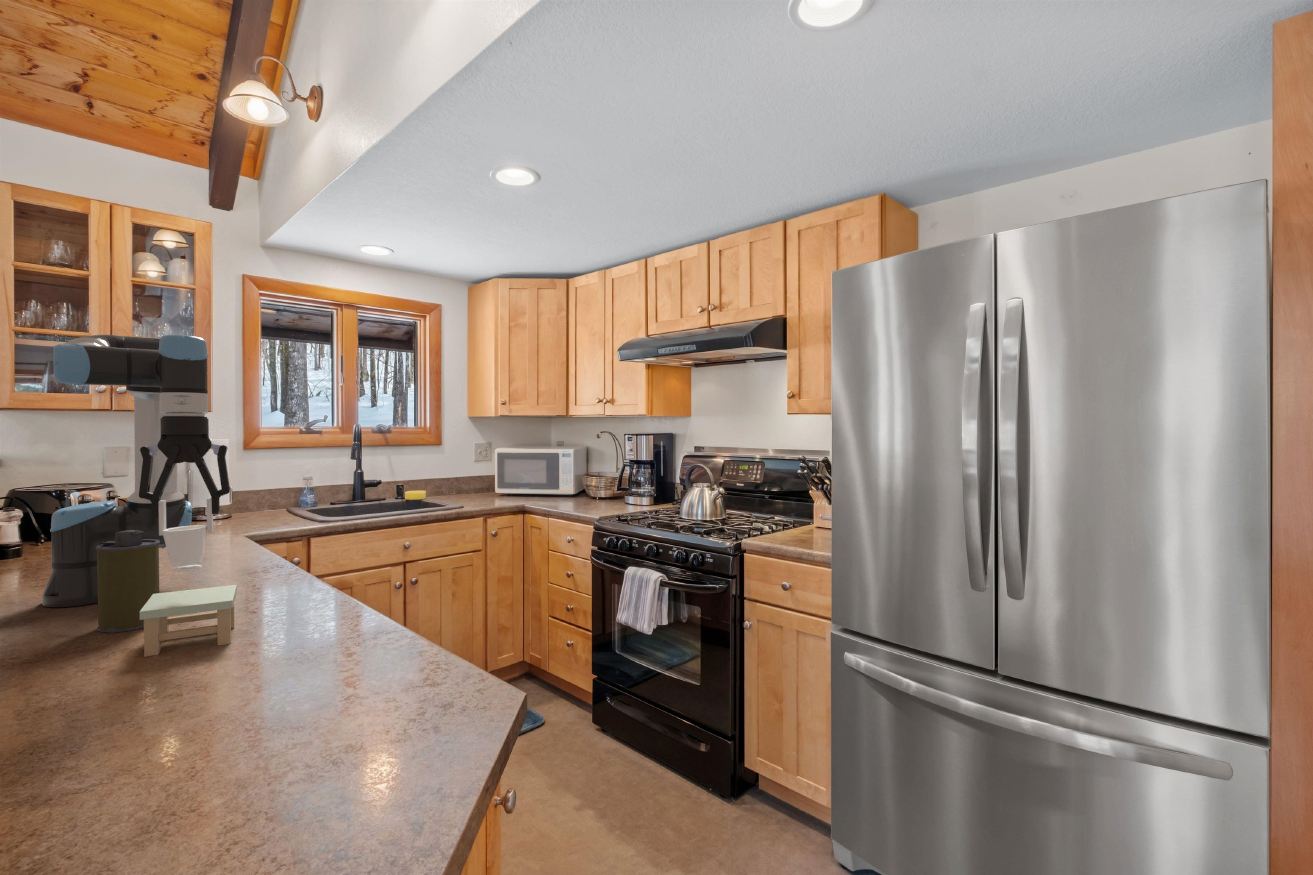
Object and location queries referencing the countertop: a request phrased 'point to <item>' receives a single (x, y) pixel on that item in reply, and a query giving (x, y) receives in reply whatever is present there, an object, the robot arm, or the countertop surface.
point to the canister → (126, 580)
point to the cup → (185, 546)
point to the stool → (187, 603)
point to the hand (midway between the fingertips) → (186, 532)
